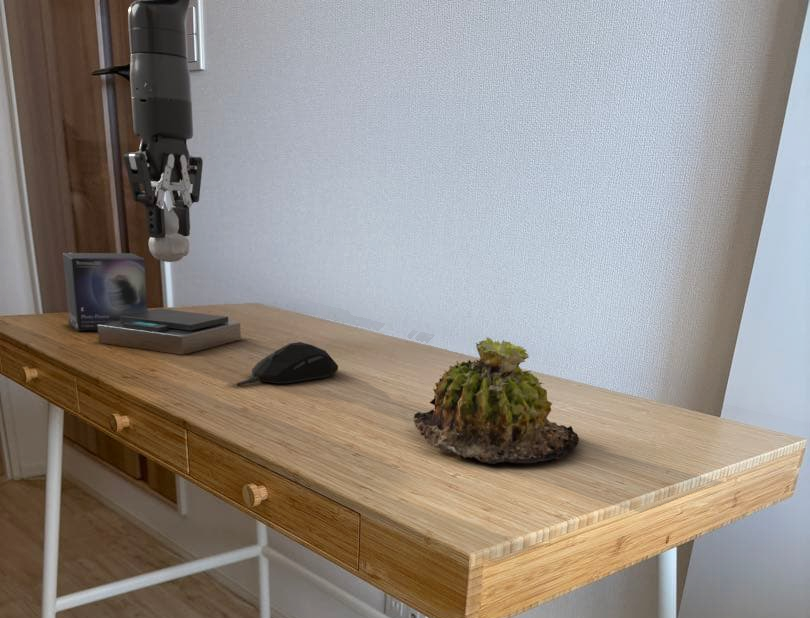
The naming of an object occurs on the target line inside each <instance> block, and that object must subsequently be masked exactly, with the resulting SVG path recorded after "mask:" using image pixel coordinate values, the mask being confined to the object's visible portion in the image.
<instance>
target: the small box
mask: <svg viewBox="0 0 810 618" xmlns="http://www.w3.org/2000/svg"><path fill="white" fill-rule="evenodd" d="M62 259H63V269H64V278H65V291H66V301H67V309H68V324H69V325H71V326H72V327H73V328H74V329H75V330H77V331H78V332H85V331H86V332H87V331H88V332H89V331H90V332H91V331H98V327H97V325H98V324H104V323H109V322H115V321H120V316H121V315H127V314H132V313H138V312H143V311H148V299H147V279H146V263H145V262H146V261H145V258H143V257H142V256H139V255H137V254H135V253H131V252H129V253H124V252H123V253H122V252H121V253H115V252H114V253H113V252H111V253H109V252H107V253H106V252H105V253H104V252H103V253H102V252H63V253H62Z"/></svg>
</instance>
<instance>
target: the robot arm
mask: <svg viewBox="0 0 810 618" xmlns="http://www.w3.org/2000/svg"><path fill="white" fill-rule="evenodd" d="M190 4H191V0H135V1H133V2H132V3H130V5H129V7H128V10H127V11H128V12H127V23H128V39H129V53H130V63H129V83H130V94H131V95H130V97H131V112H132V122H133V123H132V124H133V125H132V126H133V132H134V135H136V136H138V137H139V138H140V144H139V149H138V151H135V152H129V151H128V152H125V153H124V154H123V159H124V164H125V167H126V172H127V176H128V181H129V185H130V189H131V194H132V198H133V201H134V202H136V203H141V204H142V206H144V207H145V211H146V213H145V214H146V224H147V231H148V235H149V238H151V237H152V238H164V237H165V235H166V234H165V217H164V209H163V202H164V201H165V194H166V192H167V191H168V193H169V196H170V199H171V203H172V206H171V208H172V209H173V211H174V212H175V214H176V215H177V217H178V220H179V229H178V232H177V234H181V235H183V236H184V237H189V236H190V234H191V233H190V232H191V221H190V220H191V217H190V216H191V215H190V208H191V207H192V205H193V204H194V203H199V202H200V197H201V196H200V195H201V185H202V184H201V183H202V177H203V175H202V174H203V166H204V163H203V162H204V161H203V158H202V157H200V156H193V155H191V154H190V152H189V149H188V145H187V141H188V140H191V139H192V138H193V136H194V123H193V103H192V81H191V74H190V68H189V60H188V58H189V57H188V55H189V54H188V36H187V18H188V13H189V9H190ZM140 184H141V185H140ZM141 186H142V189H143V191H142V190H141ZM190 189H191V192H190ZM154 191H155V195H154ZM161 208H162V209H161Z"/></svg>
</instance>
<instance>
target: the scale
mask: <svg viewBox="0 0 810 618" xmlns="http://www.w3.org/2000/svg"><path fill="white" fill-rule="evenodd" d="M97 327H98V330H97V335H98V337H97V338H98V343H99V344H104V345H110V346H111V345H113V346H119V347H126V348H132V349H133V348H134V349H139V350H146V351H152V352H153V351H154V352H160V353H167V354H175V355H181V356H183V355H188V354H192V353H195V352H199V351H203V350H206V349H211V348H214V347H218V346H221V345H226V344H229V343H233V342H238V341H240V340H241V339H242V338H241V337H242V336H241V335H242V334H241V322H238V321H230V320H228V322H227V323H223V324H218V325H214V326H210V327H205V328H201V329H196V330H192V331H191V330H183V329H175V328H168V326H167V325H159V324H151V323H144V322H136V321H130V322H122V321H115V322H109V323H104V324H98V325H97Z"/></svg>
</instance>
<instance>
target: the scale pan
mask: <svg viewBox="0 0 810 618" xmlns="http://www.w3.org/2000/svg"><path fill="white" fill-rule="evenodd" d="M120 321H122V322H130V321H136V322H144V323H151V324H159V325H167V326H168V328H175V329H183V330H191V331H192V330H196V329H201V328H205V327H210V326H214V325H218V324H223V323H227V322H228V321H229V316H225V315H217V314H208V313H199V312H193V311H185V310H184V311H183V310H182V311H181V310H177V309H168V308H155V309H150V310H147V311H143V312H138V313H132V314H127V315H121V316H120Z"/></svg>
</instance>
